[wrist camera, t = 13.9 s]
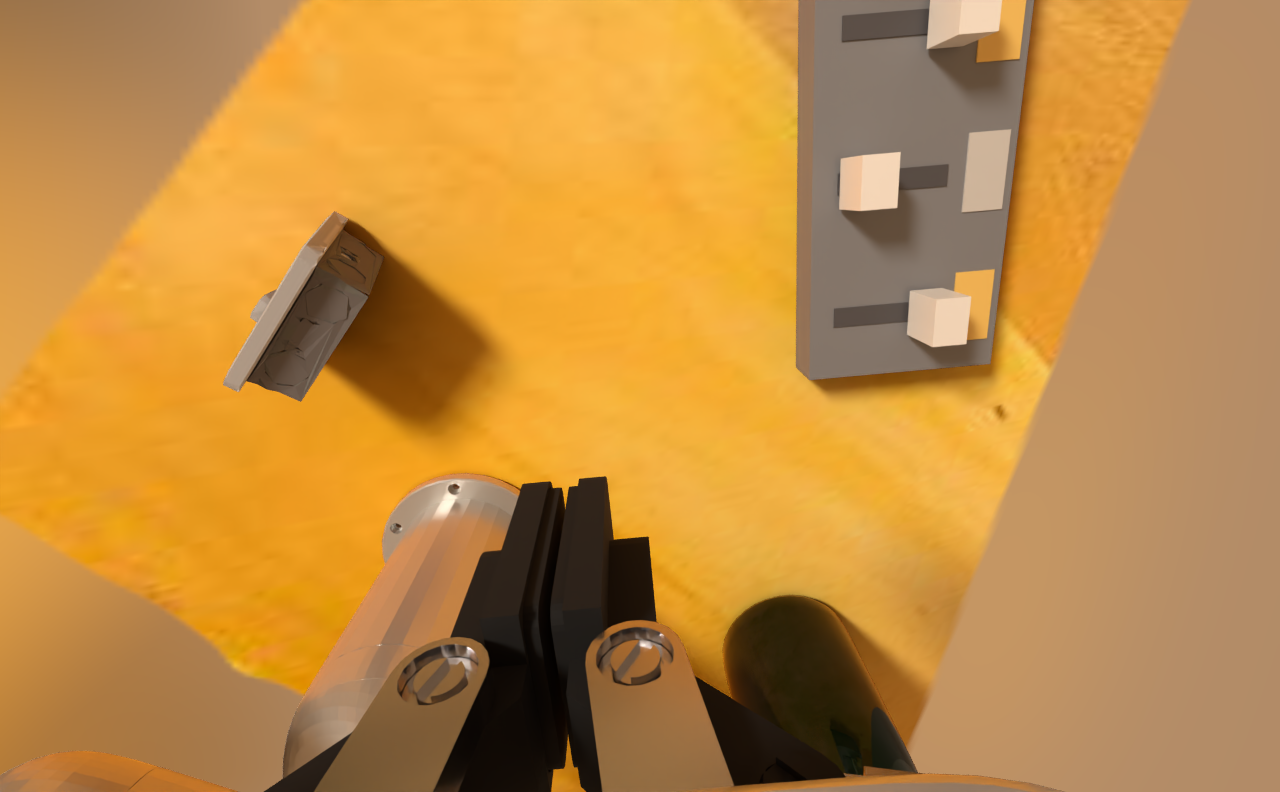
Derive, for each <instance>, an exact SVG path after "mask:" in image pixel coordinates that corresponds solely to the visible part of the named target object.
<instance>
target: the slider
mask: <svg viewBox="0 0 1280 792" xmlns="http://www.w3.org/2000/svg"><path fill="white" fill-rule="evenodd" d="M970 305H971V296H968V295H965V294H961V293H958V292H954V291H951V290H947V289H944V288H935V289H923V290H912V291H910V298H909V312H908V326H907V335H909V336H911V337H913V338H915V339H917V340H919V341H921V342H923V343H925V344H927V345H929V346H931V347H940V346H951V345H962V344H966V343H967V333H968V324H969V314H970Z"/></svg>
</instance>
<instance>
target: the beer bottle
mask: <svg viewBox="0 0 1280 792" xmlns="http://www.w3.org/2000/svg"><path fill="white" fill-rule="evenodd" d="M723 663H724V668H725V674H726V678H727V682H728V686H729V690H730V694H731V698H732V699H733V700H735V701H736V702H738V703H740V704H741V705H743V706H745V707H746V708H748V709H750V710H751V711H753V712H754V713H756V714H758V715H759V716H761V717H763V718H764V719H766V720H768V721H769V722H771V723H773V724H774V725H776V726H777V727H779V728H781V729H782V730H784V731H786V732H787V733H789V734H791V735H792V736H794V737H795V738H797V739H799V740H800V741H802V742H804V743H805V744H807V745H809V746H810V747H812V748H814V749H815V750H817V751H818V752H820V753H822V754H823V755H824V756H826V757H827V758H828V759H829V760H831V761H832V762H833V763H834V764H836V765H837V766H838V767H839V768H840V770H841V771H842V772H843V773H846V774H854V775H862V776H863V774H864V766H866V767H874V768H882V769H891V770H899V771H907V772H915V773H918V772H917V770H916V767H915V765H914V764H913V761H912V759H911V757H910V755H909V753H908V751H907V749H906V747H905V745H904V743H903V741H902V739H901V737H900V735H899V733H898V730H897V728H896V726H895V724H894V722H893V720H892V718H891V716H890V714H889V712H888V710H887V708H886V706H885V704H884V702H883V700H882V698H881V696H880V694H879V692H878V690H877V688H876V686H875V684H874V682H873V680H872V678H871V676H870V674H869V672H868V670H867V668H866V666H865V664H864V662H863V660H862V658H861V656H860V654H859V652H858V650H857V648H856V647H855V645H854V643H853V641H852V639H851V637H850V635H849V633H848V631H847V629H846V628H845V626H844V624H843V623H842V621H841V619H840V618H839V617H838V616H837V615H836V613H835V612H834V611H833V610H831V609H830V608H829V607H827V606H826V605H824V604H822V603H820V602H818V601H816V600H814V599H811V598H807V597H803V596H794V595H786V596H777V597H773V598H769V599H765V600H763V601H761V602H758V603H756V604H754V605H753V606H751V607H750V608H748V609H746V610H745V611H744V612H743V613H742V614H741V615H740V616H738V617H737V618H736V620H735V621H734V622H733V624H732V625H731V627H730V628H729V630H728V633H727V635H726V637H725V639H724V644H723Z"/></svg>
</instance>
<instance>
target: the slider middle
mask: <svg viewBox="0 0 1280 792" xmlns="http://www.w3.org/2000/svg"><path fill="white" fill-rule="evenodd" d="M900 154H901V152H895V153H883V154H871V155H861V156H854V157H848V158H841V165H840V199H839V209H840V210H853V211H867V210H878V209H890V208H897V204H898V187H899V171H900Z"/></svg>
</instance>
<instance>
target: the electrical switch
mask: <svg viewBox="0 0 1280 792" xmlns="http://www.w3.org/2000/svg"><path fill="white" fill-rule="evenodd" d="M348 220H349V219H348V218H346V217H344V216H342V215H340V214H339V213H337V212H335V211H334V212H333V213H332V214H331V215H330V216H329V217H328V218H327V219H326V220H325V221H324V222H323V223H322V225H321V226H320V227H319V228H318V229H317V231H316V232H315V233H314V234H313V235H312V236H311V238H310V239H309V240H308V241H307V242H306V244H305V245H304V246H303V247H302V249H301V250H300V252H299V254H298V255H297V257H296V259H295V260H294V262H293V264H292V265H291V267H290V269H289V270H288V272H287V274H286V275H285V277H284V279H283V280H282V282H281V284H280V285H279V287H278V289H277V290H274V291H272V292H270V293H268V294H266V295H264V296H263V297H262V298H261V299H260V300H259V302H258V303H257V305H256V306H255V308H254V310H253V311H252V313H251V317H250V318H251V319H253V320H254V321H256V322H257V324H256V325H255V327H254V329H253V330H252V332H251V334H250V335H249V337H248V339H247V340H246V342H245V344H244V345H243V347H242V349H241V350H240V352H239V354H238V355H237V357H236V359H235V360H234V362H233V364H232V365H231V367H230V369H229V371H228V373H227V375H226V378H225V380H224V383H223V385H225V386H227V387H229V388H231V389H233V390H235V391H237V392H239V391H240V390H241V388H242V386H243V385H244V383H245V382H246V381H248V382H251V383H255V384H258V385H260V386H262V387H264V388H265V389H267V390H272V391H277V392H280V393H283V394H285V395H287V396H289V397H291V398H294V399H296V400H298V401H300V402H301V401H302V399H303V398H304V396H305V394H306V393H307V391H308V390H309V388H310V387H311V385H312V384H313V382H314V381H315V379H316V377H317V376H318V374H319V373H320V371H321V370H322V368H323V367H324V365H325V364H326V362H327V360H328V359H329V357H330V356H331V354H332V353H333V351H334V350H335V348H336V347H337V345H338V343H339V342H340V340H341V339H342V337H343V336H344V334H345V333H346V331H347V330H348V328H349V326H350V325H351V323H352V322H353V320H354V319H355V317H356V316H357V314H358V313H359V311H360V309H361V308H362V306H363V305H364V303H365V302H366V300H367V299H368V297H369V296H367V295H365V294H364V293H366V294H368V295H370V293H371V290H372V288H373V285H374V282H375V280H376V277H377V275H378V272H379V270H380V267H381V264H382V262H383V259H384V256H382V255H380V254H379V253H377V252H375V251H374V250H372V249H370V248H368V247H367V246H366V244H365V243H363V242H362V241H360V240H359V239H357V238H355V237H353V236H352V235H350V234H349V233H347V232H346V231H345V230H343V228H344V226H345V225H346V223H347V221H348ZM361 291H362V292H364V293H362V292H361ZM350 308H351V309H350Z"/></svg>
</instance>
